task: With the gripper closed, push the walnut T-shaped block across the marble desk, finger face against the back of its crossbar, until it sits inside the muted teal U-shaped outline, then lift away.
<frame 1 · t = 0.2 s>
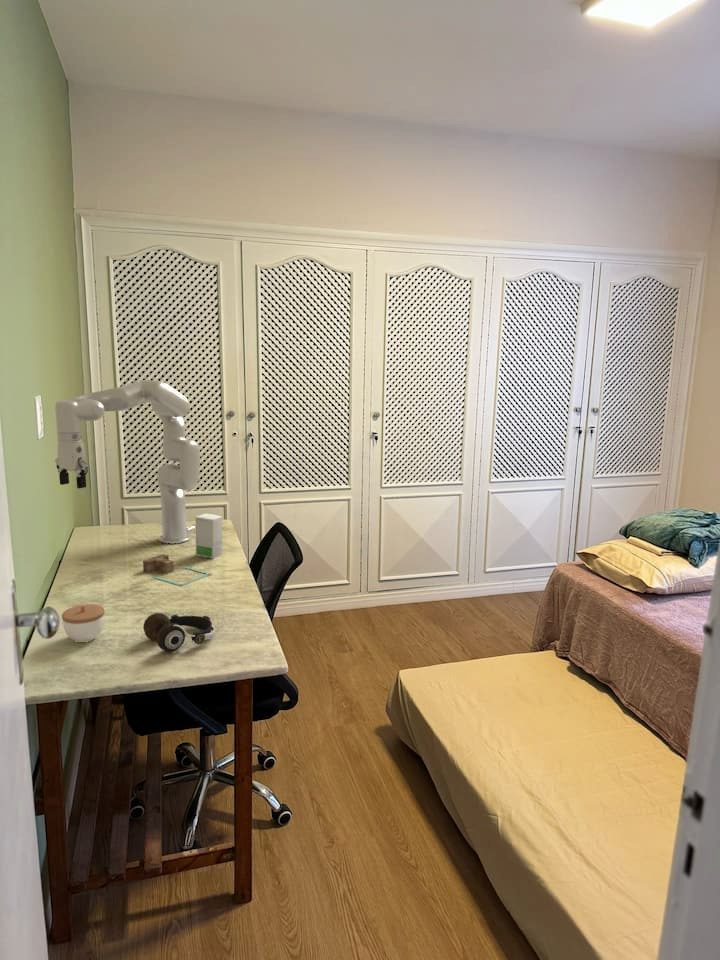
hand: (73, 485, 225), 31 cm above the table, tool pointing down, fingers open, 9 cm apart
skincare box: (209, 555, 250), on the table
tee block: (162, 570, 233), on the table
headset: (182, 639, 180), on the table
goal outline: (181, 575, 227), on the table
lidded jar: (85, 638, 179), on the table
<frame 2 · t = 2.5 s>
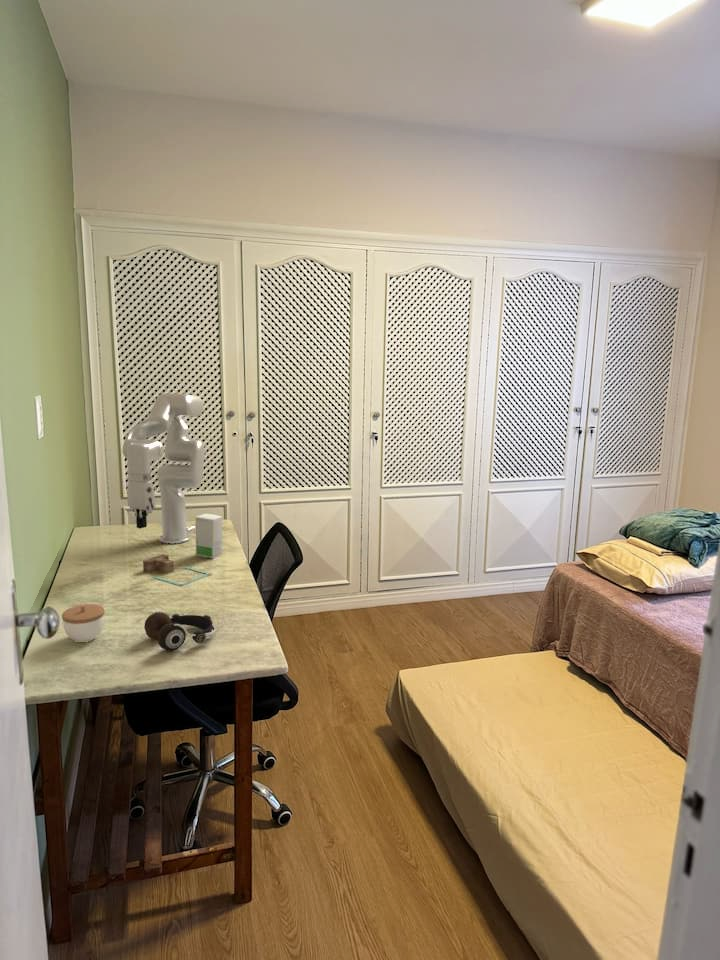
hand: (141, 527, 234), 14 cm above the table, tool pointing down, fingers closed
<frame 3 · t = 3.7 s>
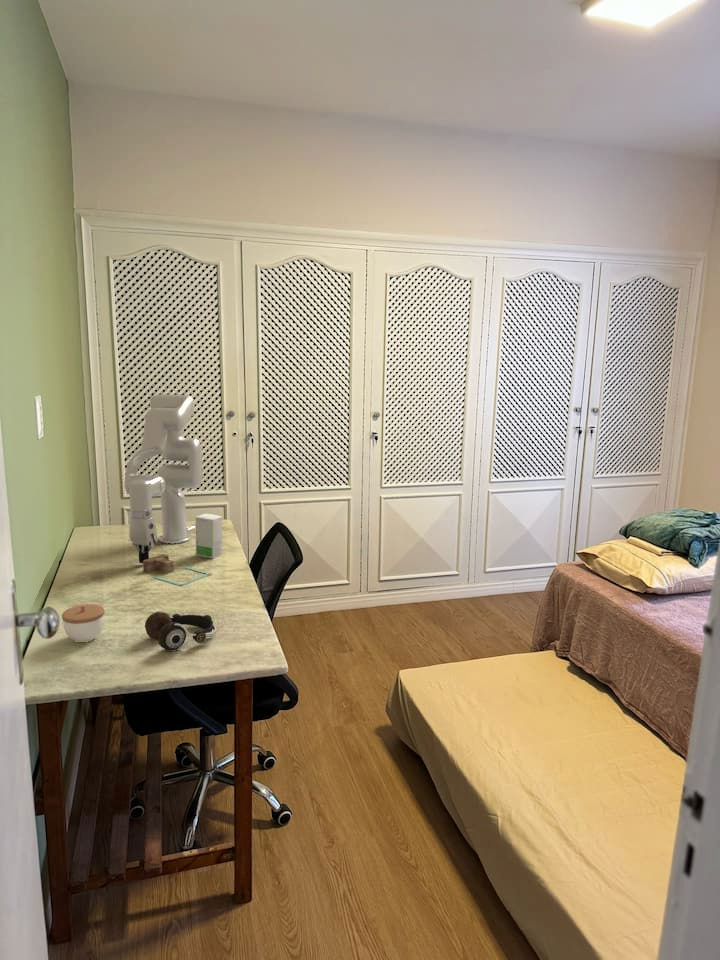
hand: (144, 562, 237), 1 cm above the table, tool pointing down, fingers closed
nothing on the table moved.
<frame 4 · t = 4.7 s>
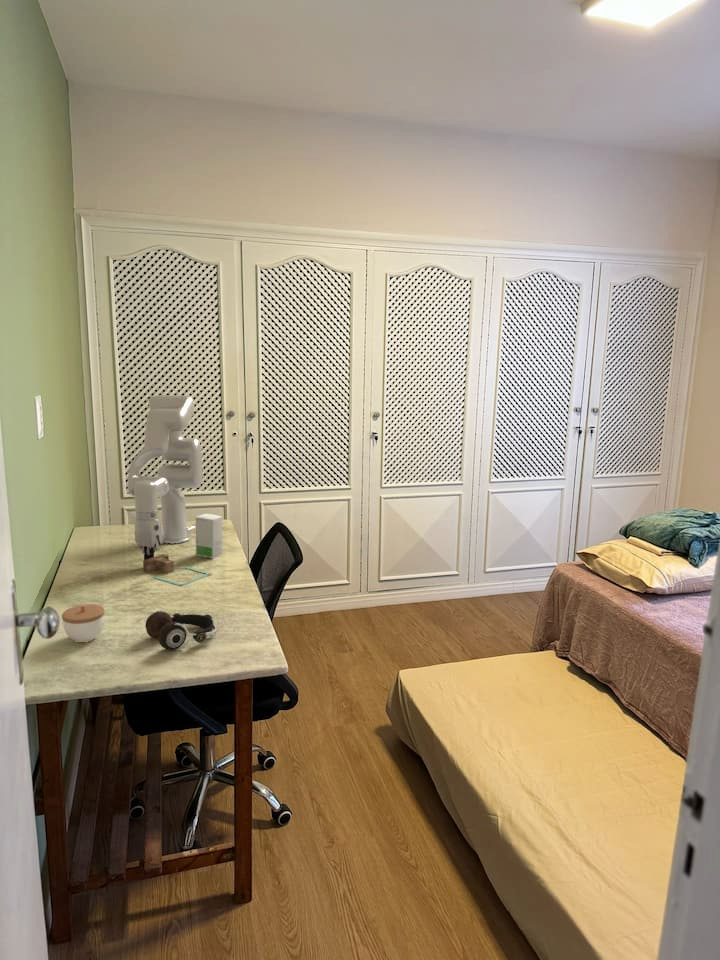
hand: (149, 563, 236), 1 cm above the table, tool pointing down, fingers closed
tee block: (162, 570, 233), on the table, touching gripper
everything else where it was.
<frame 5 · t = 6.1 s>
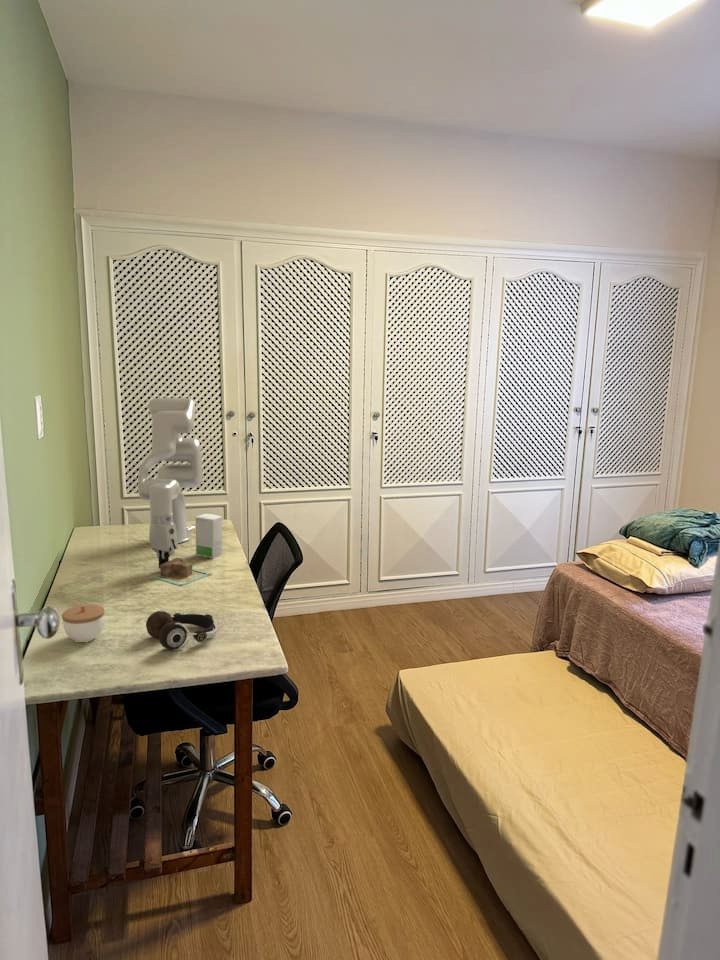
hand: (164, 567, 232), 1 cm above the table, tool pointing down, fingers closed
tee block: (179, 573, 229), on the table, touching gripper
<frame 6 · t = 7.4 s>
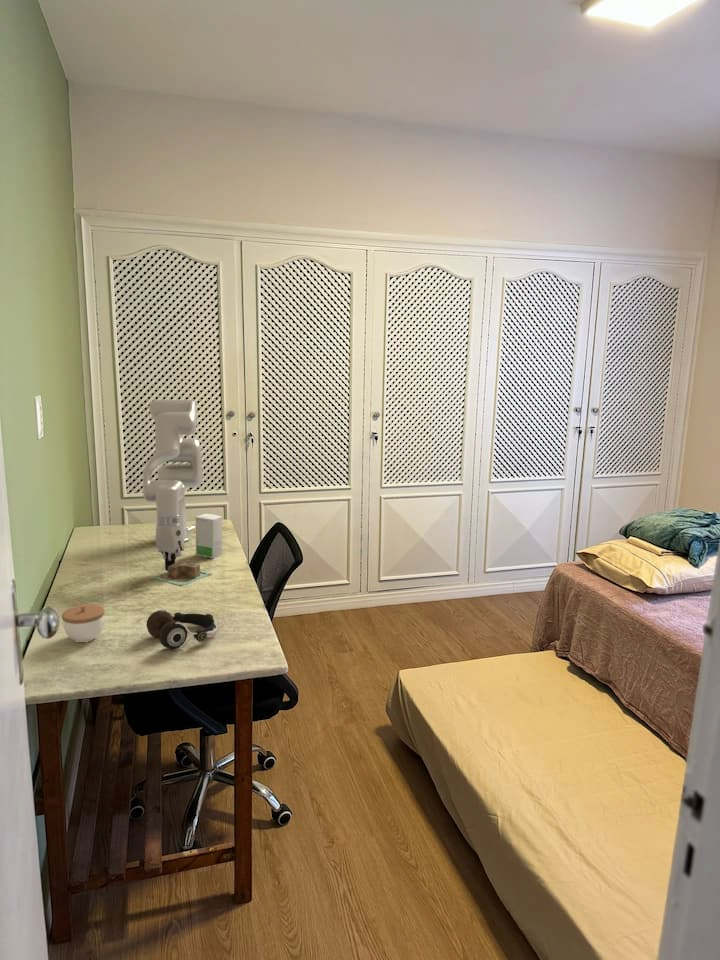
hand: (170, 569, 230), 1 cm above the table, tool pointing down, fingers closed
tee block: (186, 575, 228), on the table, touching gripper
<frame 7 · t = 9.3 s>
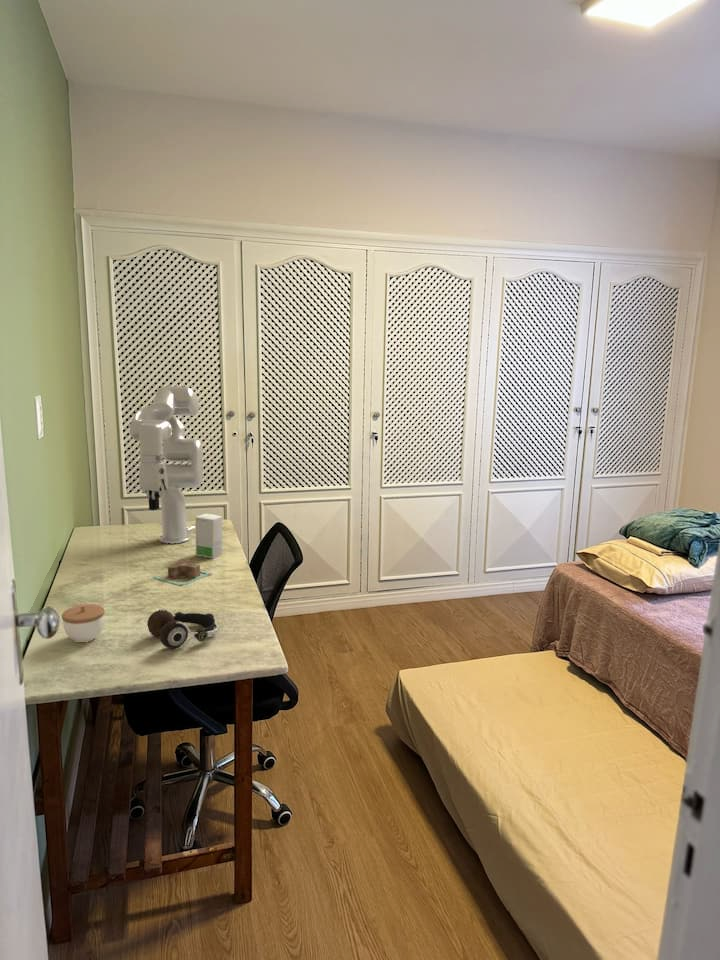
hand: (154, 509, 230), 22 cm above the table, tool pointing down, fingers closed
tee block: (186, 575, 228), on the table
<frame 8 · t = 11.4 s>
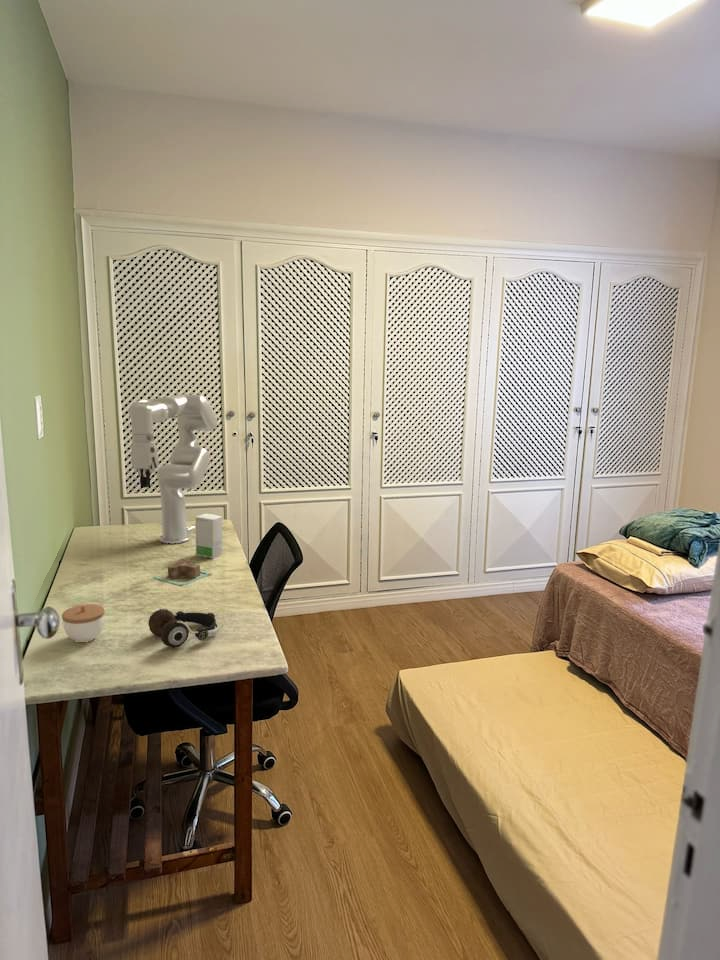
hand: (145, 486, 242), 27 cm above the table, tool pointing down, fingers closed
at the end: tee block inside the target area (1.4 cm from its centre), on the table; tee block tilted 0° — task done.
